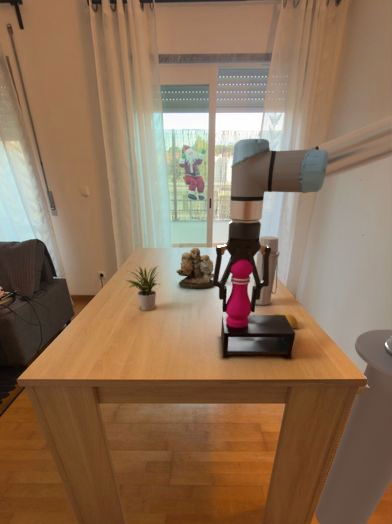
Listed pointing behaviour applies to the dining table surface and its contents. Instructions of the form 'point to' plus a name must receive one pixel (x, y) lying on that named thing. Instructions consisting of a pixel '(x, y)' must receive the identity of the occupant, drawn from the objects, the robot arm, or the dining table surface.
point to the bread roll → (290, 319)
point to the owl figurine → (196, 270)
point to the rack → (259, 336)
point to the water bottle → (267, 291)
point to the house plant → (145, 288)
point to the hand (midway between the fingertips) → (238, 310)
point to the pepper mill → (239, 295)
